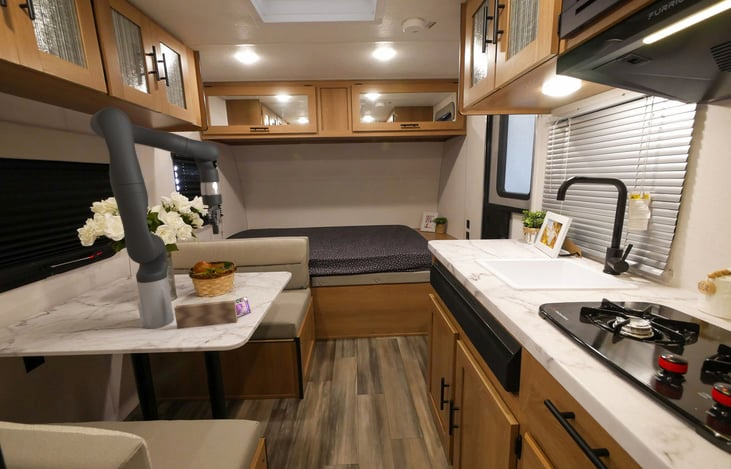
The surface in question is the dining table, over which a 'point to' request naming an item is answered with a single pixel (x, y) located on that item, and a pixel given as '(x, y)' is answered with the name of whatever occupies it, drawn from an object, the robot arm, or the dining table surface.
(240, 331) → the dining table surface
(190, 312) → the walnut board
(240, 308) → the purple crystal
